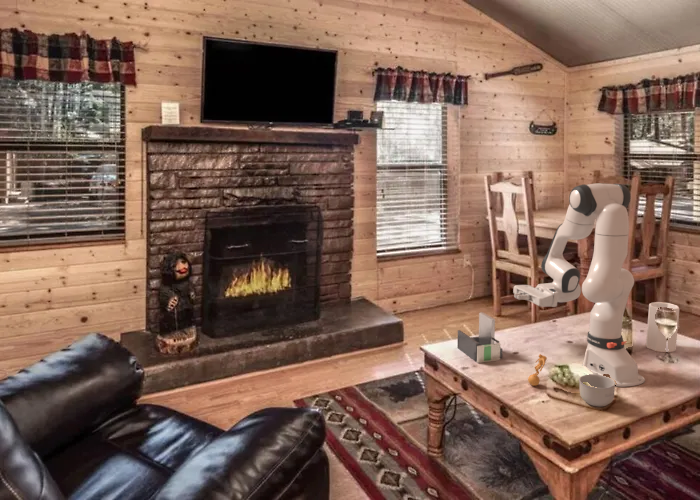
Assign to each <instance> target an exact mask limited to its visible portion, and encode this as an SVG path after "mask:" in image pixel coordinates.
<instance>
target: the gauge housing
mask: <svg viewBox="0 0 700 500" xmlns="http://www.w3.org/2000/svg"><path fill="white" fill-rule="evenodd" d="M457 349H459V350H460V351H461V352H462V353H463V354H465V355H466V356H467V357H469V358H470V359H471V360H473V361H474V362H475V363H477V364H482V363H489V362H495V361H496V362H497V361H501V359H503V348H502V347H501V343H500V342H499V343H497V342H496V343H494V344H487V345H480V344H479V335H478V336H472V337H471V336H470V335H468V334H467V333H465V332H463V331H462V330H461V329H459V330H457Z"/></svg>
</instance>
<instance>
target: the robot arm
mask: <svg viewBox="0 0 700 500" xmlns="http://www.w3.org/2000/svg"><path fill="white" fill-rule="evenodd" d="M630 192H631V191H630V189H629V188H628V187H627V185H624V184H620V183H601V182H599V183H598V182H597V183H591V184H590V183H588V184H579V185H577V186H574V187H573V188H572V189H571V190H570V193H569V197H568V203H569V205H568V206H567V211H566V214H565V217H564V220H563V222H562V223H561V224H559V225H558V226H557V228H556V230H555V232H554V235H553V237H552V239H551V242H550V245H549V247H548V250H547V253H546V254H545V256H544V258H543V259H542V261H541V267H540V268H541V271H542V272H543V273H544V274H545V275H547V276H548V277H550V278H551V279H552V280H553V281H552V282H548V283H546V282H545V283H538V284H537V285H536V287H534V286H532V285H529V284H515V285H514V286H513V290H512V291H513V292H512V293H513V294H514V296H513V297H514V298H515V299H516V300H519V301H520V300H525V301H528V302H530V303H532V304H534V305H536V306H538V307H541V308H543V307H545V308H546V307H552V308H556V307H558V303H567V302H571V301H575V300H576V299H579V297H580V296H581V293H582V295H583V297H584V298H585V299H587V301H588V302H590V303H591V302H592V303H594V305H593V307H592V309H591V310H590V313H589V325H588V326H589V327H588V329H589V330H588V331H587V336H586V340H587V346H586V349H585V353H584V357H583V362H582V365H584V366H586V367H587V368H588V369H589V370H591V371H592V372H593V373H598V375H603V374H609V375H610V377H611V378H612V379H614V380H615V381H616V383H617V384H616V386H615V387H619V388H620V387H621V388H622V387H633V386H634V387H635V386H638V385H642V384H643V383H645V382H646V379H645V377H643V376H642V375H641V374H639V369H638V368H639V367H638V363H637V362H636V360H635V358H634V357H632V356H631V355H630V353H629V352H628V350H627V349H626V348H625V344H627V342H628V341H624V338H623V335H622V328H623V321H624V319H623V318H624V313H625V310H626V307H627V304H628V300H629V297H630V293H631V291H632V289H633V287H634V285H635V279H634V275H633V274H632V272H631V271H630V270H628V269H627V268H623V265H624V263H625V260H626V259H627V257H628V247H629V234H630V232H629V231H630V221H629V213H628V209H627V208H628V206H629V204H630V202H631V193H630ZM594 225H595V230H593V229H594ZM592 231H594V242H593V245H594V246H593V254H592V258H591V259H592V260H591V262H590V265H589V268H588V272H587V275H586V278H585V279H584V281H583V282H582V284H581V285H580V280H581V272H580V270H579V269H578V268H577V267H575V266H574V265H573V264H572V263H570V262H568V261H567V260H566V259H565V257H564V255H563V253H564V251H565V248H566V247H567V246H566V245H567V243H568V241H569V240H571V241H577V240H584V239H586V238H588V237H589V236H590V235H591V234H592Z"/></svg>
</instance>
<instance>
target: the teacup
mask: <svg viewBox="0 0 700 500" xmlns="http://www.w3.org/2000/svg"><path fill="white" fill-rule="evenodd" d="M578 382H579V383H578V385H579V395H580V397H581V399H582V400H583V401H584V402H585V403H587V404H588V405H590V406H592V407H598V408H599V407H605V406H608V405H609V404H611V403H612V402H613V401H614V398H615V390H616V389H615V387H616V386H615V382H614V380H613V379H611V378H609V377H606V376H603V375H598V373H593V374H589V375H587V374H584V375H581V376H580V377H579V379H578ZM583 382H588V383H589V384H590V385H591V386H594V387H590V386H587V385H585V384H583ZM595 387H597V388H595Z"/></svg>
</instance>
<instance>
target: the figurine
mask: <svg viewBox="0 0 700 500" xmlns="http://www.w3.org/2000/svg"><path fill="white" fill-rule="evenodd" d="M546 362H547V356H545V355H542V354H541V353H539V354H538V358H537V360H535V363H537V364H536V365H535V366H534V370H535V373H533V374H531V375H529V376H528V377H527V382H528V383H529V385H530V386H532V387H536V386H538V385H539V384H540V381H541V380H540V377H539V374H540V372H542V371H543V368H544V366H546V365H545V364H546Z"/></svg>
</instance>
